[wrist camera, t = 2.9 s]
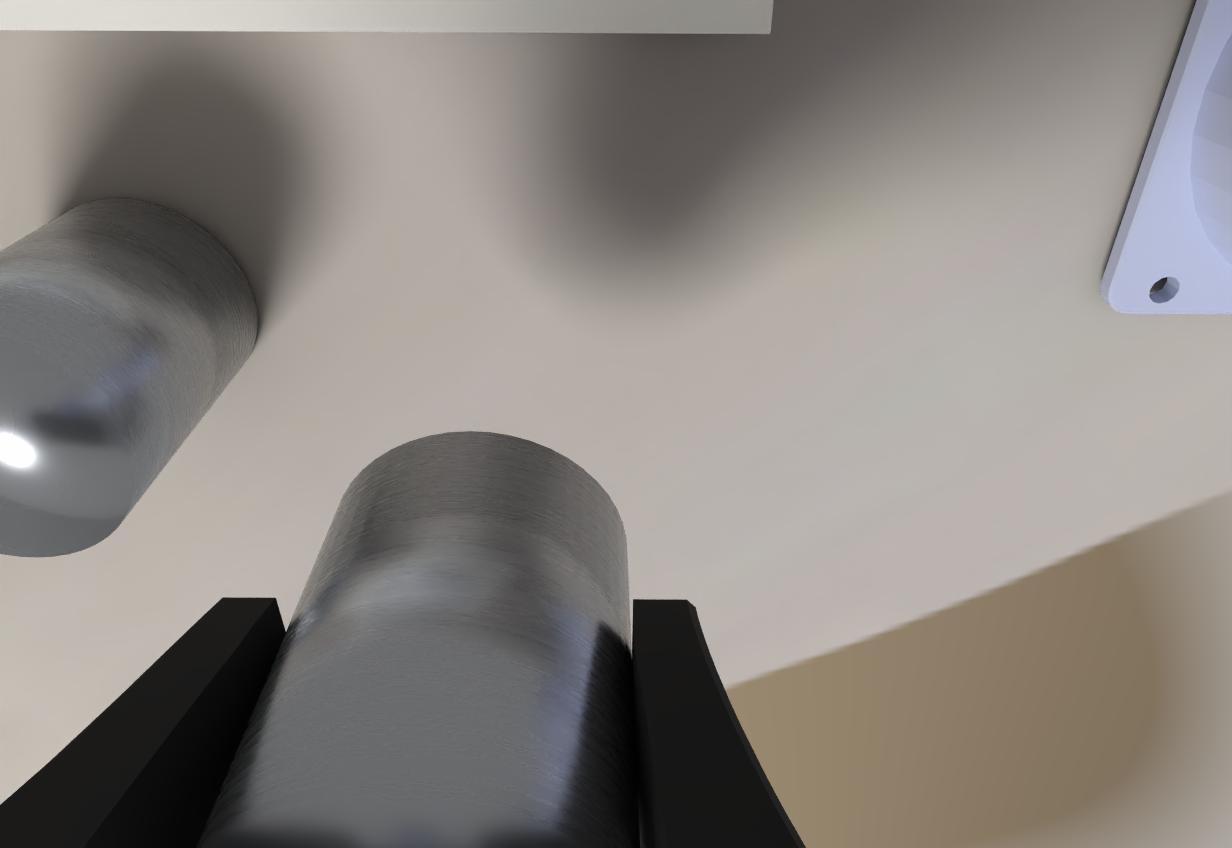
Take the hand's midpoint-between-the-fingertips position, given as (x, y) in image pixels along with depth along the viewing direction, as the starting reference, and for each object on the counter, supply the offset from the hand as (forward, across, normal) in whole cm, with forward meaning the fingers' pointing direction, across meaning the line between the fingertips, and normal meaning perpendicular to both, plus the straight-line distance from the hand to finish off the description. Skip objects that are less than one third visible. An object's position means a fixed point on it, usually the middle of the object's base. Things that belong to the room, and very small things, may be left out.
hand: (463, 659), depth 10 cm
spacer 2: (+2, 0, 0) cm, 2 cm away
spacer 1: (+8, +7, -1) cm, 11 cm away
